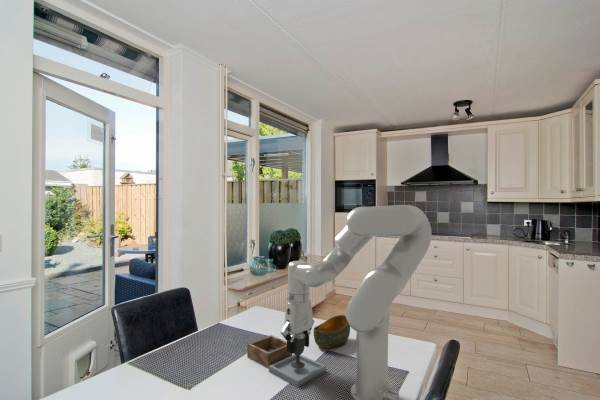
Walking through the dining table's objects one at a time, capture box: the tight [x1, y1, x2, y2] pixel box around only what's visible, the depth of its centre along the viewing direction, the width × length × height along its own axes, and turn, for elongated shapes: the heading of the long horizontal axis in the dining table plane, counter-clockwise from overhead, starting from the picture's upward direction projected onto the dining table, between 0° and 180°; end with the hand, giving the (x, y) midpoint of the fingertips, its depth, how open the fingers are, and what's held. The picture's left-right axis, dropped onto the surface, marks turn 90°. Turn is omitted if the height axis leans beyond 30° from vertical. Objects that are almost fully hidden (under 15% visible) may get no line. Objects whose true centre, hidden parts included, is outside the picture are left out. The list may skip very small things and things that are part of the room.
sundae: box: [290, 332, 308, 368], centre depth 114 cm, size 7×7×15 cm
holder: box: [246, 334, 293, 369], centre depth 124 cm, size 12×12×5 cm
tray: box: [268, 354, 327, 388], centre depth 113 cm, size 14×14×2 cm
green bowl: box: [313, 314, 351, 351], centre depth 137 cm, size 13×20×10 cm, turn 104°
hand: (298, 348), depth 114 cm, fingers closed on sundae, 6 cm apart
